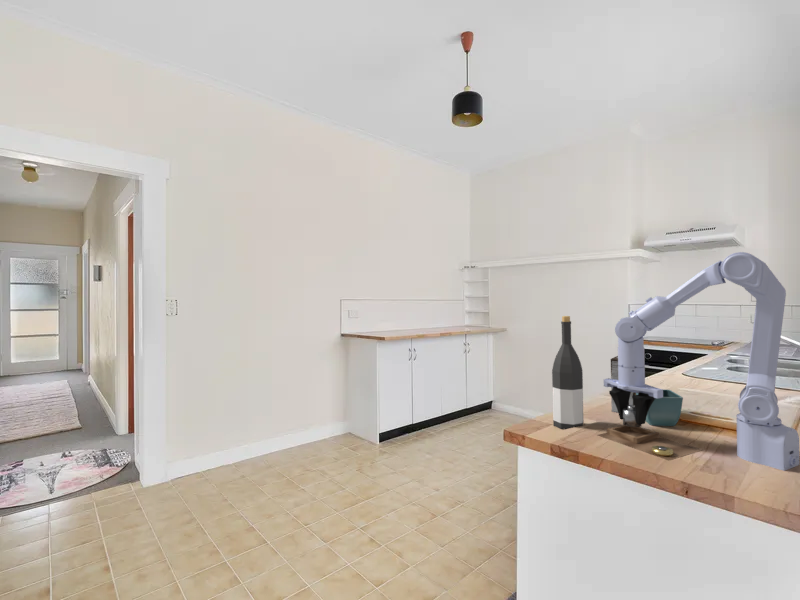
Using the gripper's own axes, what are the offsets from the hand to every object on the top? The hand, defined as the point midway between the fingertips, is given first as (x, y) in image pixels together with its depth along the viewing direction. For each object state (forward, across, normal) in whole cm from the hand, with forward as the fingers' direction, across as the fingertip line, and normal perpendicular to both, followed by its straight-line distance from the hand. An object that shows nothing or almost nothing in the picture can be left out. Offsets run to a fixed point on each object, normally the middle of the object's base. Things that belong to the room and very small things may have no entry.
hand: (632, 421), depth 104 cm
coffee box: (+5, -18, +21) cm, 28 cm away
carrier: (+5, +4, -1) cm, 7 cm away
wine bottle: (+5, -16, -5) cm, 17 cm away
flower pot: (+5, -4, +15) cm, 16 cm away
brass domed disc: (+3, +10, -4) cm, 12 cm away
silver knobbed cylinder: (+1, 0, 0) cm, 1 cm away
